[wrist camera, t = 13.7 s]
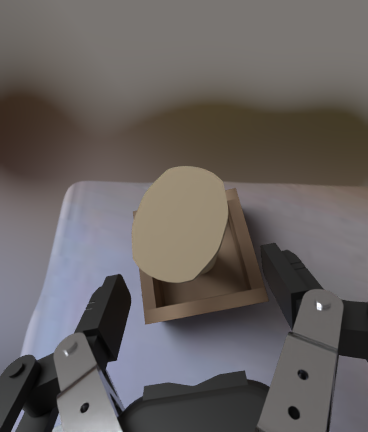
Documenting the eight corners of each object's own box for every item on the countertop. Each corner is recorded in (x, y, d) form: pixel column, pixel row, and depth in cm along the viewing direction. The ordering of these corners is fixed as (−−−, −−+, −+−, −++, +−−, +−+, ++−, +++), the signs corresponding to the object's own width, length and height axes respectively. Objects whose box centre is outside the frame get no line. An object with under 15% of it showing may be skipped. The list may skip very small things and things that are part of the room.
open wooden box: (232, 205, 28) (235, 187, 24) (259, 299, 25) (269, 301, 20) (146, 224, 29) (132, 211, 25) (158, 318, 25) (145, 324, 21)
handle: (228, 239, 26) (239, 176, 12) (213, 294, 24) (205, 295, 10) (189, 228, 27) (158, 158, 13) (172, 280, 26) (115, 264, 12)
